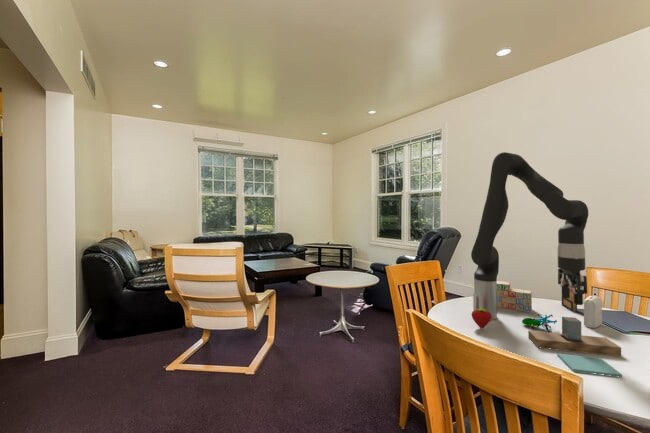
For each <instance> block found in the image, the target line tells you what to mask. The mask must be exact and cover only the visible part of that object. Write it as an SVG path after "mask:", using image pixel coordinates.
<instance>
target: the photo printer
mask: <svg viewBox="0 0 650 433" xmlns="http://www.w3.org/2000/svg"><path fill="white" fill-rule="evenodd" d="M602 324H603V301H602V299H601V298H600V297H599V296H597V295H590V296H588V297H586V298H585V299H584V300H583V325H584V326H585V327H586V328H589V329H596V328H598V327H599V326H601V325H602Z"/></svg>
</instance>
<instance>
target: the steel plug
mask: <svg viewBox="0 0 650 433" xmlns="http://www.w3.org/2000/svg"><path fill="white" fill-rule="evenodd" d="M561 334H562V337H563V338H564V339H565V340H566V341H574V342H581V335H582V321H581V320H580V319H579V318H577V317H571V316H570V317H568V316H561Z"/></svg>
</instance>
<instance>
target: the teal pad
mask: <svg viewBox="0 0 650 433" xmlns="http://www.w3.org/2000/svg"><path fill="white" fill-rule="evenodd" d="M556 356H557V358H558V359H560V360H561V362H562V363H564V365H566V366H567V367H568V369H570V370H571V371H572V372H573V371H576V372H575V373H582V374H583V373H584V374H589V373H596V374H595V375H598V374H604V375H603V376H606V375H611V376H610V377H614V376H619V377H618V378H623V374H622V373H621V372H620V371H618V370H617V369H616V368H614V366H612V365H610V364H609V363H608V362H607V361H605V360H604V359H603V358H602V357H601V358H600V357H593V356H584V355H574V354H564V353H556Z"/></svg>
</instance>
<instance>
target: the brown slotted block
mask: <svg viewBox="0 0 650 433" xmlns="http://www.w3.org/2000/svg"><path fill="white" fill-rule="evenodd" d="M549 332H550V331H549ZM549 332H547V331H535V330H528V335H527V336H528V339H529V341H530V340H531V341H532V342H533V343H532V342H531V341H530V342H531V343H532V344H533V345H534V346H535V348H537V347H541V348H540V349H544V348H551V349H550V350H554V349H558V350H557V351H564V350H565V351H566V352H572V353H573V352H574V353H575V352H576V353H585V354H594V355H604V356H613V357H622V347H621V346H619V345H618V344H616V342H613V341H612V340H610V339H609V338H607V337H601V336H592V335H591V336H590V335H583V334H581V342H574V341H566V340H565V339H564V338H563V337H562V333H560V332H550V333H549Z"/></svg>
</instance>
